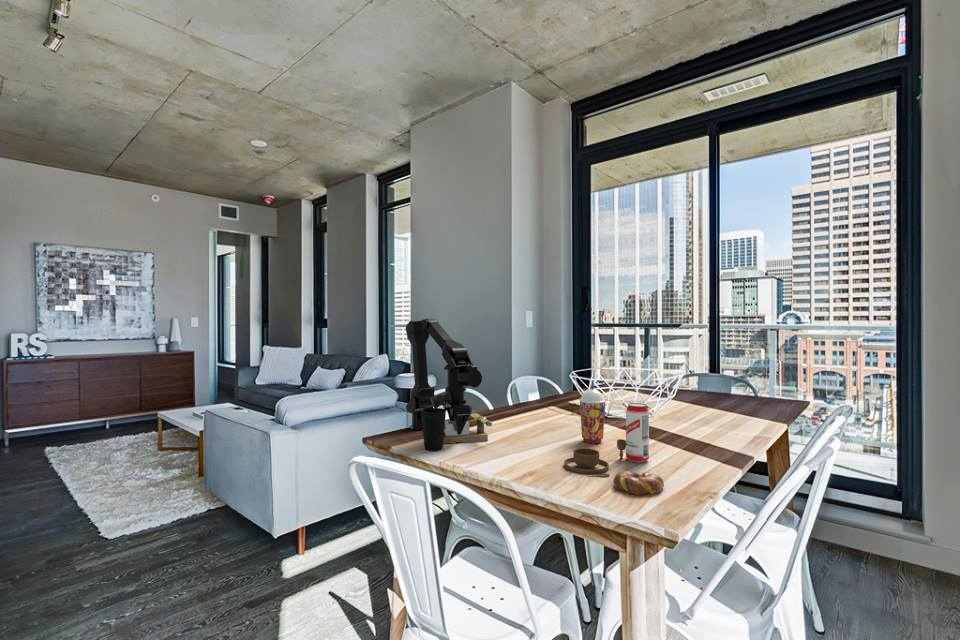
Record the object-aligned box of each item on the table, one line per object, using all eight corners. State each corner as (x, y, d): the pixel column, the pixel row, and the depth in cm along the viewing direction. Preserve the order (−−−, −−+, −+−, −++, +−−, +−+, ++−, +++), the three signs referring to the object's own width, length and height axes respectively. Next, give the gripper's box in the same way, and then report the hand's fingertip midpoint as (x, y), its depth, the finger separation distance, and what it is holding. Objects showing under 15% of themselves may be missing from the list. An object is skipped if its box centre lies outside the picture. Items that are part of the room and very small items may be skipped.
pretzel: (654, 481, 120) (654, 466, 120) (672, 497, 109) (673, 481, 109) (606, 481, 119) (607, 466, 119) (620, 497, 108) (621, 480, 108)
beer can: (639, 464, 132) (639, 407, 132) (621, 459, 137) (621, 403, 137) (653, 461, 135) (653, 405, 135) (635, 455, 141) (635, 401, 141)
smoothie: (577, 438, 161) (577, 379, 161) (602, 438, 161) (602, 379, 161) (581, 444, 153) (582, 382, 153) (608, 445, 152) (608, 382, 152)
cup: (447, 445, 151) (447, 408, 151) (443, 452, 144) (443, 412, 144) (424, 445, 152) (424, 407, 152) (418, 451, 144) (418, 412, 144)
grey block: (442, 433, 159) (442, 421, 159) (466, 432, 161) (466, 420, 161) (445, 436, 155) (445, 424, 155) (469, 435, 157) (469, 423, 157)
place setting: (556, 460, 138) (556, 439, 138) (623, 458, 140) (623, 438, 140) (573, 480, 121) (573, 457, 121) (649, 478, 122) (649, 455, 122)
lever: (478, 415, 168) (478, 412, 168) (495, 425, 152) (495, 421, 152) (468, 416, 167) (468, 413, 167) (484, 426, 151) (484, 422, 151)
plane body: (433, 439, 160) (433, 420, 160) (481, 435, 164) (482, 418, 164) (437, 444, 153) (437, 425, 153) (487, 440, 157) (487, 422, 157)
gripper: (427, 381, 165) (427, 426, 165) (437, 389, 147) (437, 439, 147) (458, 380, 168) (458, 424, 168) (472, 387, 150) (472, 437, 150)
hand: (455, 431), depth 158 cm, fingers open, 9 cm apart
